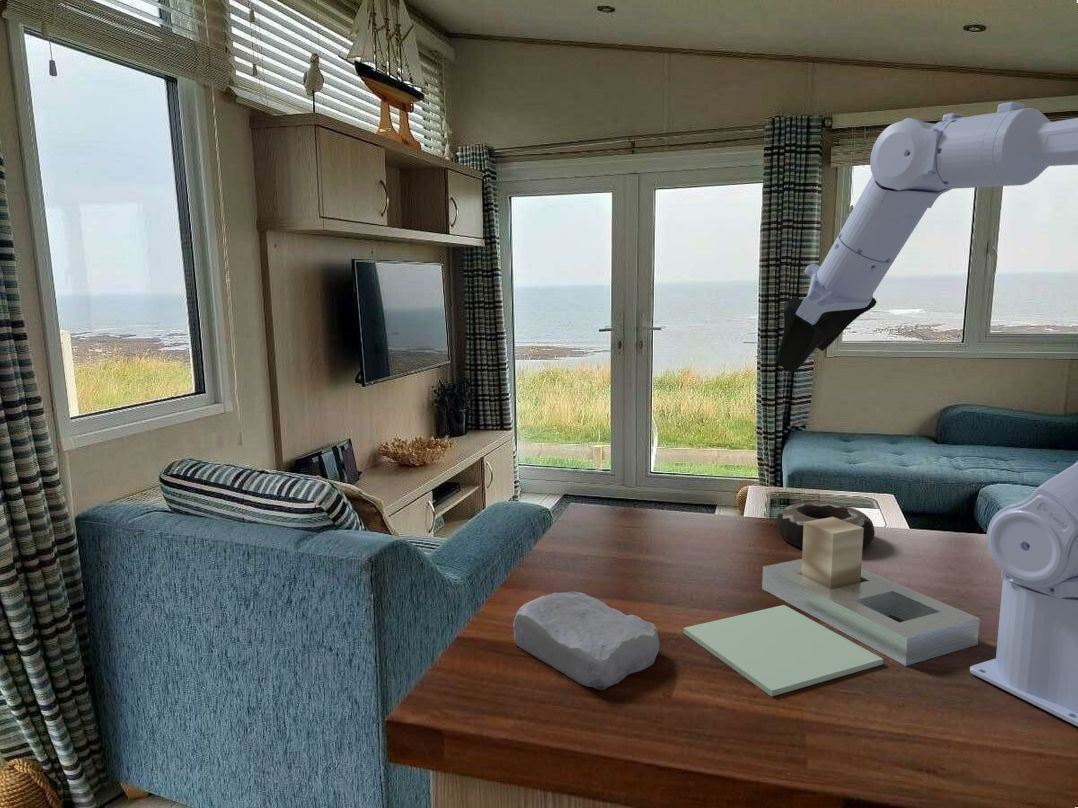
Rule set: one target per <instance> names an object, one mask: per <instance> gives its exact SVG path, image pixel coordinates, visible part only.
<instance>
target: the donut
mask: <svg viewBox="0 0 1078 808" xmlns="http://www.w3.org/2000/svg"><path fill="white" fill-rule="evenodd" d="M830 517H835V518H838V519H840V520H843V521H846V522H849V523H852V524H854V525H857V526H860V527H863V528H864V531H863V548H862V550H863V549H865V548H866V547H868V546H869V545H870V544H871V542H872V541H873V539H874V538H875V534H876V533H875V532H876V531H875V526H874V523H873V520H871V518H870V517H869V516H868V515H866V514H865V513H864V512H862V511H861V510H859V509H856V508H853V507H851V506H847V505H843V504H837V503H831V502H821V501H809V502H808V501H806V502H805V501H804V502H797V503H793V504H790V505H787V506H786V507H784V508H783V509H782V510H780V512H779V513H778V514H777V517H776V522H775V526H776V527H775V528H776V531H777V533H778V534H779V535H780V537H781V538H782V539H783V540H784V541H786V542H787V543H789V544H790V545H793V546H796V547H797V548H800V549H803V529H804V522H807V521H812V520H818V519H824V518H830Z"/></svg>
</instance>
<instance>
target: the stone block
mask: <svg viewBox="0 0 1078 808" xmlns="http://www.w3.org/2000/svg"><path fill="white" fill-rule="evenodd" d="M512 627H513V642H514V643H515V645H516V646H517V647H519V649H522V650H523V651H525V652H526V653H528V654H529V655H532V656H534V657H535V658H536V659H537V660H539V661H541V662H543V663H545V664H547V665H548V666H550V667H551V668H553V669H555V670H556V671H558V672H560V673H562V674H563V675H566V677H568V678H569V679H571V680H573V681H575V682H576V683H578V684H579V685H582V686H585V687H589V688H590V687H591V688H593V689H596V690H598V691H605V690H607V689H608V688H609V687H611V686H614V685H618V684H619V682H621V681H623V680H624V679H625V678H626V677H627V676H628V675H630V674H634V673H637V672H641V671H643V670H645V669H647V668H649V667H651V666H652V665H654V663H655V661H656V658H657V655H658V653H659V649H660V639H659V638H660V637H659V633H658V628H657V627H656V625H655V624H654V623H652V622H649V621H646V620H644V619H642V618H641V616H638V615H635V614H628V615H626V614H625V613H623V612H622V611H619V610H618V609H615V608H613V607H610V606H608V605H607V604H606V603H605V602H603V601H601V600H599V599H598V598H595V597H592V596H591V595H588V594H586V593H583V592H580V591H575V590H574V591H573V590H572V591H566V592H565V591H564V592H553V593H551V594H548V595H540V597H537V598H536V599H533V600H530V601H528V602H526V603H524V604H523V605H521V606H520V607H519V609H518V610H517V611H516V613H515V617H514V619H513V623H512Z"/></svg>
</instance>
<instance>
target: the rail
mask: <svg viewBox="0 0 1078 808" xmlns="http://www.w3.org/2000/svg"><path fill="white" fill-rule="evenodd" d="M801 572H802V558H798V559H795V560H789V561H784V562H779V563H774V564H769V565H763V566H762V579H761V580H762V581H761V582H762V583H761V589H762V590H763V591H766V592H767V593H770V594H771V595H773V596H774V597H777V598H778V599H780V600H782V601H784V602H785V603H788V604H789V605H791V606H793V607H795V608H797V609H798V610H800V611H802V612H805V613H806V614H808V615H810V616H812V617H814V618H816V619H817V620H820V621H821V622H823V623H825V624H827V625H828V626H830V627H832V628H834V629H835V630H838V631H839V632H841V633H844V634H845V635H847V636H848V637H851V638H853V639H854V640H856V641H858V642H859V643H860V642H861V643H862V644H864V645H866V646H868V647H870V648H871V649H873V650H874V651H876V652H879V653H880V654H883V655H885V656H886V657H888V658H890V659H892V660H894V661H895V662H897V663H899V664H901V665H902V666H905V667H907V666H910V665H914V664H916V663H920V662H924V661H927V660H929V659H930V660H931V659H933V658H938V657H942V656H944V655H947V654H950V653H954V652H958V651H961V650H965V649H968V648H970V647H974V646H978V643H979V633H980V622H981V621H980V619H981V618H980V617H978V616H975V615H974V614H970V613H968V612H966V611H964V610H961V609H959V608H957V607H954V606H951V605H949V604H947V603H944V602H942V601H940V600H937V599H935V598H933V597H930V596H928V595H925V594H924V593H921V592H919V591H916V590H915V589H911V588H909V587H907V586H904V585H903V584H900V583H897V582H895V581H893V580H890V579H888V578H885V577H884V576H881V575H879V574H876V573H873V572H871V571H869V570H868V569H867V570H866V569H864V568H863V567H861V582H860V583H857V584H853V585H848V586H844V587H840V588H835V589H829V588H826V587H824V586H822V585H820V584H818V583H816V582H814V581H812V580H810V579H808V578H806V577H804V576H801ZM890 616H893V617H895V618H897V619H899V620H901V621H900V622H899V621H897V620H895V619H893V618H891V617H890Z"/></svg>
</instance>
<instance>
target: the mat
mask: <svg viewBox="0 0 1078 808" xmlns="http://www.w3.org/2000/svg"><path fill="white" fill-rule="evenodd" d="M683 634H684V635H686V636H687V637H688V638H690V639H691V640H693V641H694V642H695V643H697V644H698V645H700V646H701V647H703V648H704V649H705V650H706V651H707V652H709V653H710V654H712V655H714V657H716V658H718V659H719V660H720V661H721V662H723V663H724V664H725V665H727V666H729V667H730V668H732V669H733V670H734V671H736V672H737V673H738V674H739V675H741V676H742V677H744V678H745V679H746V680H748V681H749V682H751V683H752V684H753V685H755V686H756V687H758V688H759V689H760V690H762V691H763V692H765V693H766V694H767V695H769V696H770V697H774V696H778V695H781V694H786V693H788V692H792V691H795V690H799V689H802V688H803V689H804V688H805V687H810V686H812V685H816V684H820V683H824V682H826V681H830V680H833V679H837V678H840V677H844V676H849V675H851V674H853V673H854V674H855V673H858V672H861V671H865V670H868V669H872V668H875V667H879V666H881V665H883V664H884V658H882V657H880V656H878V655H877V654H875V653H873V652H871V651H869V650H868V649H866V648H864V647H862V646H860V645H858V644H857V643H855V642H853V641H851V640H850V639H848V638H846V637H844V636H842V635H840V634H838V633H837V632H835V631H833V630H832V629H829V628H827V627H825V626H823V625H822V624H820V623H818V622H816V621H815V620H813V619H811V618H810V617H808V616H806V615H804V614H802V613H800V612H798V611H796V610H795V609H792V608H790V607H789V606H787V605H785V604H781V605H778V606H777V605H776V606H773V607H769V608H763V609H760V610H757V611H751V612H748V613H747V612H746V613H744V614H743V613H742V614H738V615H735V616H734V615H733V616H730V617H725V618H721V619H718V620H717V619H716V620H713V621H708V622H703V623H698V624H695V625H690V626H686V627H683Z"/></svg>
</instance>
